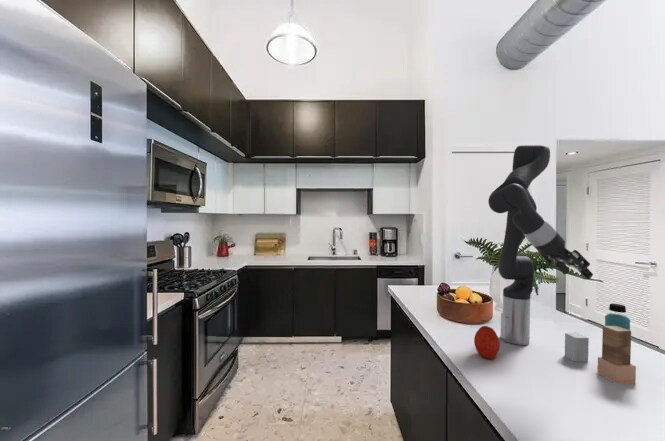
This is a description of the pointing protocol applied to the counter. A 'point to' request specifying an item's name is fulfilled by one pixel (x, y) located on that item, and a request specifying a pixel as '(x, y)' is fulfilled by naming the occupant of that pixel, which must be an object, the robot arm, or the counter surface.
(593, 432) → the counter surface
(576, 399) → the counter surface
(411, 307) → the counter surface
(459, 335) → the counter surface
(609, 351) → the tan rectangular block
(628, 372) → the terracotta block
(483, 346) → the red ellipsoid
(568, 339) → the grey post
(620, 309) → the beverage bottle
